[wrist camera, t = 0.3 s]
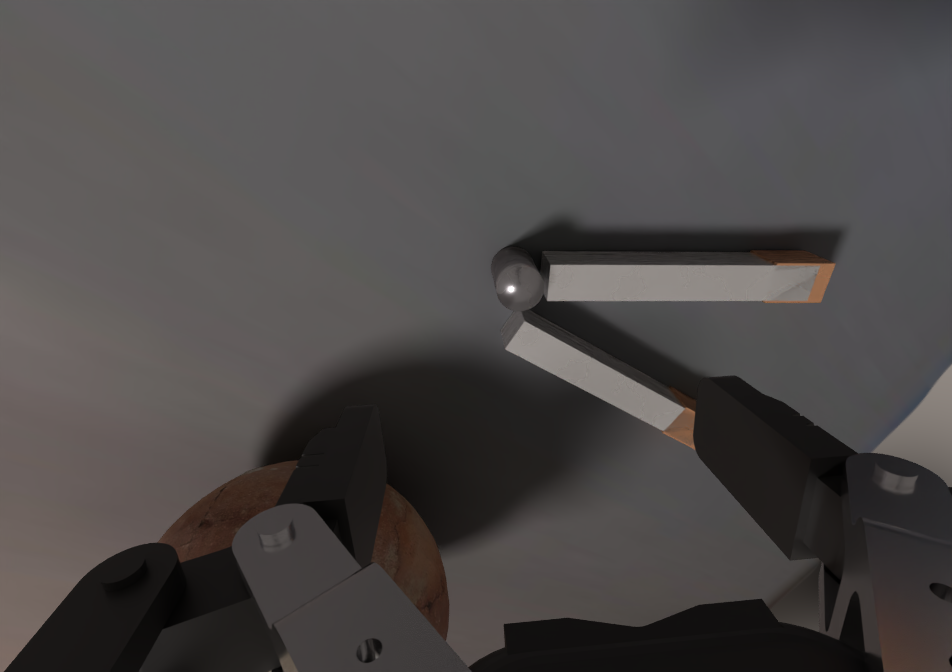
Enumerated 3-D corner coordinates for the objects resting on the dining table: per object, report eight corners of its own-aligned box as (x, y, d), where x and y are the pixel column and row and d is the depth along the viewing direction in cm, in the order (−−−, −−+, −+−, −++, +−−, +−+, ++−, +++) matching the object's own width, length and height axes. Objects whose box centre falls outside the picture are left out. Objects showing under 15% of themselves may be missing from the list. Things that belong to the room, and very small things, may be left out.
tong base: (459, 310, 34) (461, 337, 31) (505, 238, 32) (513, 257, 28) (682, 428, 41) (707, 463, 37) (734, 374, 38) (766, 406, 34)
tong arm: (539, 286, 34) (546, 303, 31) (542, 249, 32) (550, 262, 30) (791, 286, 35) (820, 302, 32) (804, 250, 33) (835, 263, 31)
